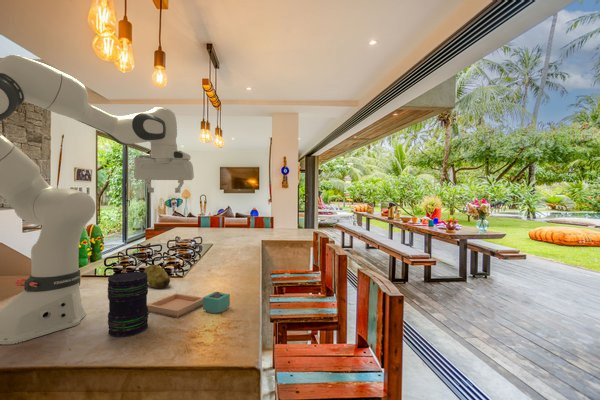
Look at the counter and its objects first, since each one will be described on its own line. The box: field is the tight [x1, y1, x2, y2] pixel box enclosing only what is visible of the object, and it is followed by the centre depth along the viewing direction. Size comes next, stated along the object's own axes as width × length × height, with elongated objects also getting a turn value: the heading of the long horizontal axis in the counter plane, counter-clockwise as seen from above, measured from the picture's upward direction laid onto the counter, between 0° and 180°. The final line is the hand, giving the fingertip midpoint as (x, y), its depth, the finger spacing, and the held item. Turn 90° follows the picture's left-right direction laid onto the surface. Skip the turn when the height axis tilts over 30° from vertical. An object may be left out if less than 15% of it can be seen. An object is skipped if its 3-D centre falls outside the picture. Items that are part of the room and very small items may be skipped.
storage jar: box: [107, 271, 149, 338], centre depth 88 cm, size 10×10×15 cm
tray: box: [147, 292, 204, 319], centre depth 105 cm, size 13×13×2 cm
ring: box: [202, 292, 231, 314], centre depth 103 cm, size 6×6×4 cm
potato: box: [143, 264, 171, 289], centre depth 128 cm, size 8×13×8 cm, turn 37°
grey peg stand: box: [204, 291, 229, 314], centre depth 103 cm, size 7×7×6 cm
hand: (164, 192), depth 115 cm, fingers open, 8 cm apart
